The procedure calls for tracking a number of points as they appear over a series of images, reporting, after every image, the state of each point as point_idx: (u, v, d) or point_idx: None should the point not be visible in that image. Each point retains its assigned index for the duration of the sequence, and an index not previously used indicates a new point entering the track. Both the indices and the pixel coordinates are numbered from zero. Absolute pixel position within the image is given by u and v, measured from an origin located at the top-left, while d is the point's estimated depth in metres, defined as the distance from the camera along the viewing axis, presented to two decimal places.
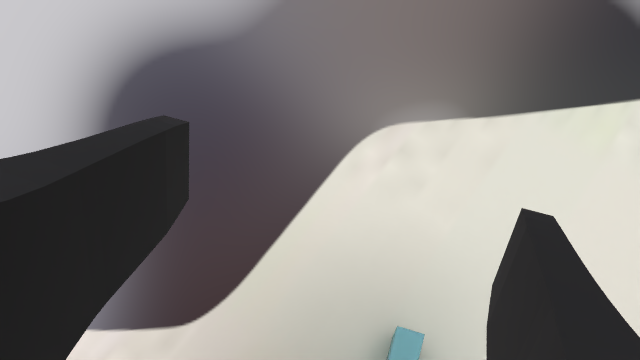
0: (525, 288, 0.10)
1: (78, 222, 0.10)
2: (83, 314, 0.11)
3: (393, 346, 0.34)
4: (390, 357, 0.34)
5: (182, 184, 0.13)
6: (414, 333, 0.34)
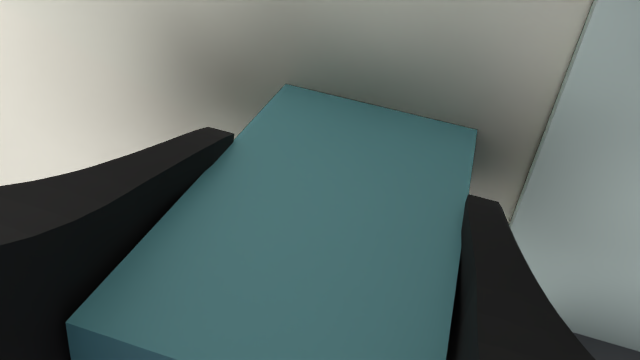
0: (462, 270, 0.10)
1: (134, 239, 0.10)
2: None
3: None
4: None
5: None
6: (77, 352, 0.08)
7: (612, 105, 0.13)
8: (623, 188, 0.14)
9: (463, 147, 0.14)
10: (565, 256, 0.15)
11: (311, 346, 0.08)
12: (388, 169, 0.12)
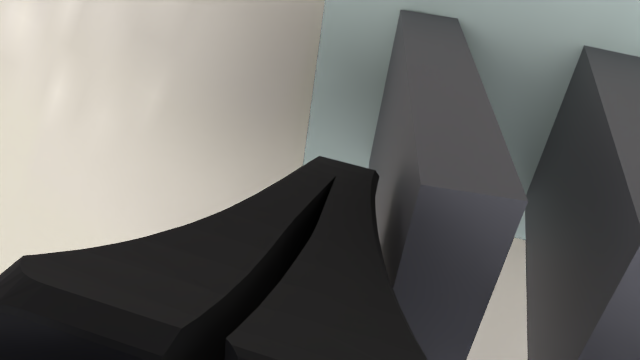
0: None
1: (277, 282, 0.09)
2: None
3: None
4: None
5: None
6: None
7: None
8: None
9: None
10: None
11: None
12: None
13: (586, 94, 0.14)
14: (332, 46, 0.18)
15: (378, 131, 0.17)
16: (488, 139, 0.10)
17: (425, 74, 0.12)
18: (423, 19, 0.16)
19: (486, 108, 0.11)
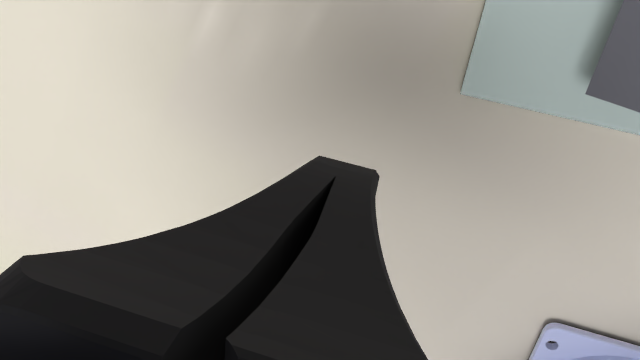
0: None
1: (277, 282, 0.09)
2: None
3: None
4: None
5: None
6: None
7: None
8: None
9: None
10: None
11: None
12: None
13: None
14: None
15: None
16: None
17: None
18: None
19: None
